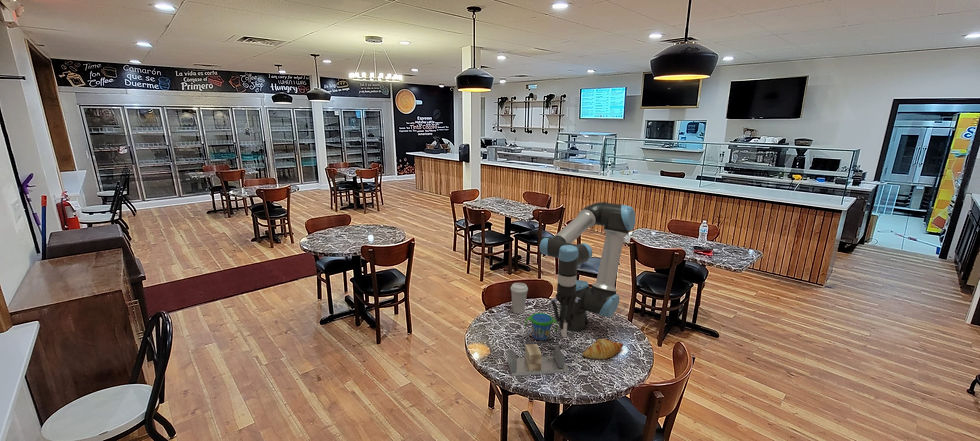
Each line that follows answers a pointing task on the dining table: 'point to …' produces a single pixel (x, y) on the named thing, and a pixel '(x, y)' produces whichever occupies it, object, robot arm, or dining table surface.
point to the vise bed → (546, 367)
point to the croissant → (603, 349)
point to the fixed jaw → (512, 360)
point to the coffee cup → (518, 297)
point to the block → (533, 357)
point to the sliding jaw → (557, 355)
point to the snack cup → (541, 325)
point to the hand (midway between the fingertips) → (563, 335)
